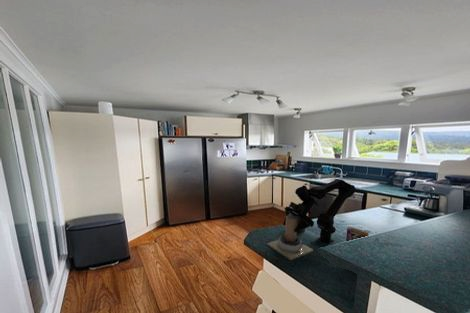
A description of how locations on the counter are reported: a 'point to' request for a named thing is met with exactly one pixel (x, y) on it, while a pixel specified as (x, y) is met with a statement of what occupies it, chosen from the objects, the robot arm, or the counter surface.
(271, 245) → the motor mount
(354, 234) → the candy box
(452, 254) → the counter surface
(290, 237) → the beige cylinder
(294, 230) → the robot arm
